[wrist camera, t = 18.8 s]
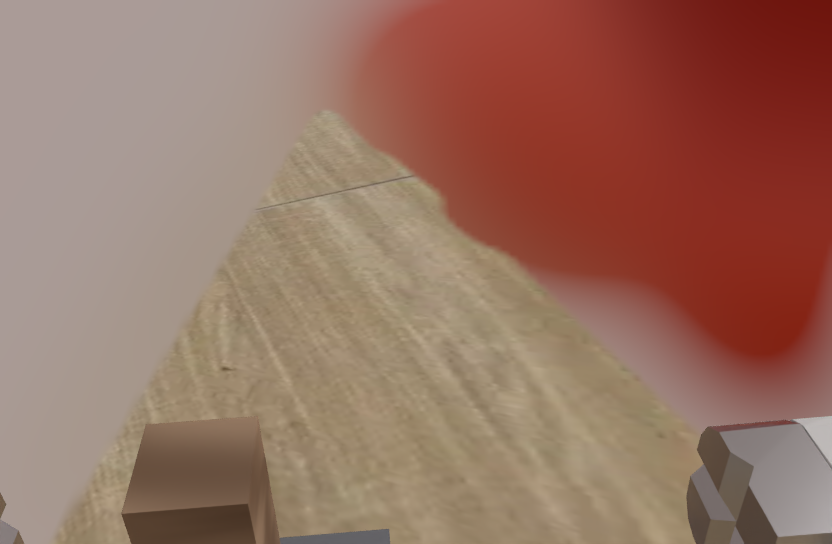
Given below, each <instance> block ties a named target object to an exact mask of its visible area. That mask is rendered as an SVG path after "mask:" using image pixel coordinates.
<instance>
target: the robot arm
mask: <svg viewBox="0 0 832 544" xmlns="http://www.w3.org/2000/svg"><path fill="white" fill-rule="evenodd" d="M697 451H698V453H699V455H700V457H701V459H702V461H703V463H704V465H702V466H701V467H700V468H699V469H698V470H697V471H696V472H695V473H693V474H692V475H691V476H690V481H689V486H688V491H687V509H688V519H689V523H690V527H691V530H692V534H693V537H694V539H695V542H696V544H832V416H827V417H816V418H804V419H792V420H790V421H788V420H778V421H766V422H755V423H744V424H733V425H721V426H710V427H707V428H706V429H705V431H704V432H703V433H702V434H701V437H700V441H699V444H698V448H697ZM5 506H6V503H5V501H4V499H3V497H2V495H1V494H0V518H1V515H2V513H3V511H4V508H5ZM0 544H24V542H23V540H22V538H21V536H20V534H19V531H18V530H17V529H15V528H14V527H12V526H10V525H8V524H7V523H5V522H3V521H2V520H0Z"/></svg>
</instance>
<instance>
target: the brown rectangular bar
mask: <svg viewBox="0 0 832 544" xmlns="http://www.w3.org/2000/svg"><path fill="white" fill-rule="evenodd" d="M121 514H122V517H123V520H124V523H125V526H126V529H127V532H128V535H129V538H130V541H131V544H281V543H280V538H279V532H278V527H277V521H276V515H275V510H274V504H273V499H272V493H271V487H270V482H269V476H268V471H267V465H266V459H265V454H264V448H263V443H262V437H261V431H260V426H259V420H258V416H254V417H240V418H227V419H213V420H200V421H186V422H173V423H159V424H146V426H145V430H144V433H143V437H142V441H141V444H140V448H139V451H138V455H137V459H136V462H135V466H134V470H133V473H132V477H131V481H130V484H129V488H128V491H127V495H126V499H125V502H124V506H123V510H122V513H121Z"/></svg>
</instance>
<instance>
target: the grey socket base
mask: <svg viewBox="0 0 832 544" xmlns="http://www.w3.org/2000/svg"><path fill="white" fill-rule="evenodd" d="M280 543H281V544H390V536H389V529H382V530H370V531H358V532H346V533H334V534H322V535H310V536H298V537H286V538H280Z"/></svg>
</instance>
